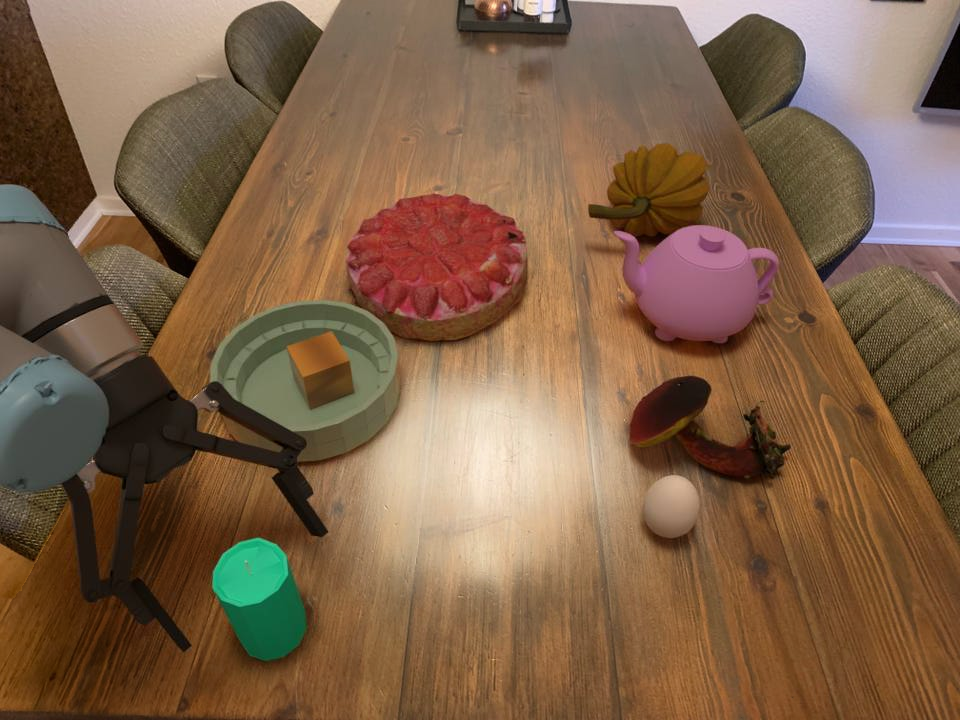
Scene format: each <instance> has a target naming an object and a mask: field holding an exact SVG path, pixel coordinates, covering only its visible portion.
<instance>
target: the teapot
mask: <svg viewBox="0 0 960 720" xmlns="http://www.w3.org/2000/svg"><path fill="white" fill-rule="evenodd" d="M613 234H614V236H616V237H617V238H618V239H619V240H620V241H621V242H622V243H623V245H624V249H625V250H624V257H623V261H622V269H621V270H622V278H623V280H624V283H625V285H626V286H627V288H628V289H629V290H630V292H632V293H633V294H634V299H635V302H636V303H637V306H638V308H639V309H640V310H641V312H642V313H643V314H644V316H645V317H646V318H647V320H648V321H649V322H650V323H651V324H653V325H654V326H655V327H656V329H655V331H654V333H655V336H656V337H657V338H658V339H660V340H661V341H664V342H671V341H674V340H675V339H676V338H679V339H683V340H687V341H694V342H709V341H710V342H713V343H715V344H724V343H726V342H728V339H729V338H728V337H730V336H732V335H735V334H737V333H739V332H740V331H742V330H744V329H745V328H746V327H747V326H748V325H749V324H750V323H751V321H752V320H753V318H754V316H755V313H756V311H757V307H758V306H763V305H766V304H768V303H770V302H771V301H772V300H773V297H774V290H773V288H772V287H771V286H769V285H770V283H771V282H773V280H774V278H775V277H776V275H777V273H778V271H779V269H780V260H779V258H778V256H777V254H776V253H775V252H773V251H772V250H770V249H768V248H767V247H766V248H765V247H752V248H749V249H748V248H747V246H746V244H745V242H743V240H742V239H740V237H738V236H737V235H735V234H734V233H732V232H731V231H728V230H726V229H723V228H721V227H716V226H712V225H704V224H697V225H688V226H683V228H681V229H679V230H677V231H676V232H674V233H673V234H669V235H668V236H667V237H665V238H664V239H663V240H662V241H661V242H659V243H658V245H656V246H655V247H653V249H652V250H651V251H650V252H649V254H648V255H647V256H646V257H645V259H644V260H643V262H642V263H641V264H640V263H639V257H640V244H639V242H638V240H637V238H636V237H634V236H632V235H630V234H628V233H626V232H625V231H622V230H614V231H613ZM753 260H766V261H769V262H770V263H769V265H768V267H767V268H766V270H765V272H763V274H762V275H761V276H760V277H759V279H758V275H757V271H756V267H755V264H754V262H753Z"/></svg>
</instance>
